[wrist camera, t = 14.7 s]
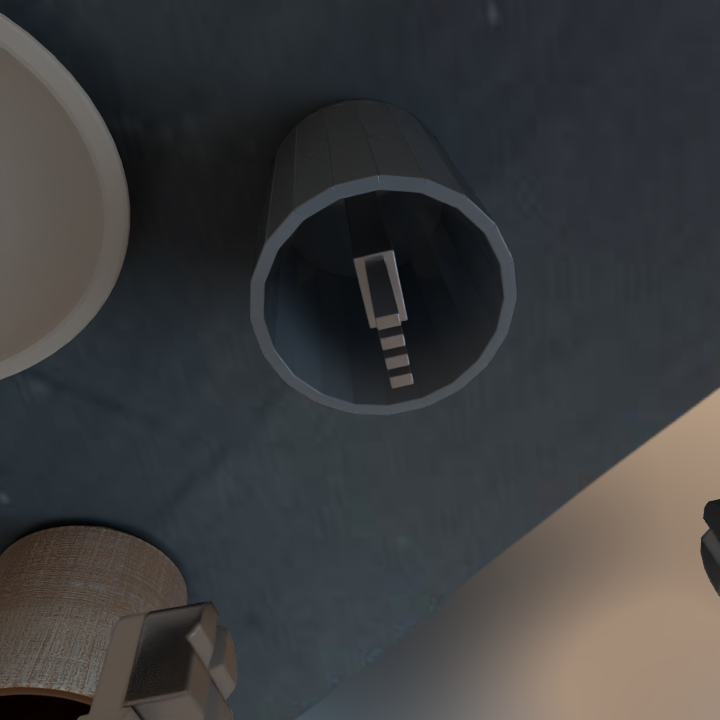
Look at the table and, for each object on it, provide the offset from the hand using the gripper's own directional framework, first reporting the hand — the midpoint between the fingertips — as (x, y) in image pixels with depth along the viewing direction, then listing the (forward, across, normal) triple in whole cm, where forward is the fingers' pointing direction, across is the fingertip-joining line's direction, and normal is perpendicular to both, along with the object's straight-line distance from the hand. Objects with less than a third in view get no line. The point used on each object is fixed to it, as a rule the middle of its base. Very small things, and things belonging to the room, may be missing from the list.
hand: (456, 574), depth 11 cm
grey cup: (+19, 0, 0) cm, 19 cm away
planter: (+19, +20, +19) cm, 34 cm away
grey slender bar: (+19, 0, 0) cm, 19 cm away
